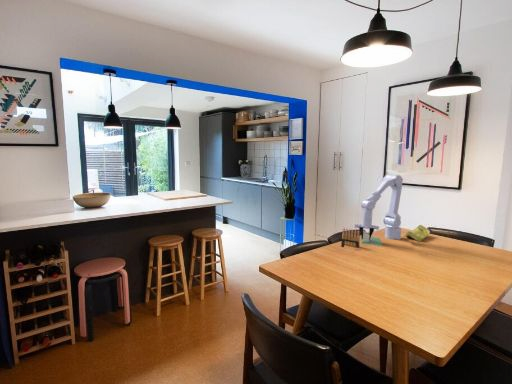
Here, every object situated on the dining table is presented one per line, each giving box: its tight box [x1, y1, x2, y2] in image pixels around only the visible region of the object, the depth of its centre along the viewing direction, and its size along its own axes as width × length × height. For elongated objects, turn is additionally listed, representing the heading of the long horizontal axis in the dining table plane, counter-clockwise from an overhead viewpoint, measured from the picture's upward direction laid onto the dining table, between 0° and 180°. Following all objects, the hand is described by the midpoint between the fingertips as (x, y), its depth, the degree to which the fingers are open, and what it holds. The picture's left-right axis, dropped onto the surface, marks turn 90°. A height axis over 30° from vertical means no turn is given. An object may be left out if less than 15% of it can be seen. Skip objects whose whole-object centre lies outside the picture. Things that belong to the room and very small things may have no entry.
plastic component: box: [403, 224, 431, 242], centre depth 202 cm, size 20×7×10 cm
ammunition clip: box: [340, 227, 361, 251], centre depth 177 cm, size 11×2×12 cm, turn 55°
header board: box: [360, 236, 384, 247], centre depth 187 cm, size 12×18×4 cm, turn 162°
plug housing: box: [363, 231, 369, 242], centre depth 187 cm, size 4×7×5 cm, turn 162°
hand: (365, 239), depth 187 cm, fingers closed on plug housing, 4 cm apart
